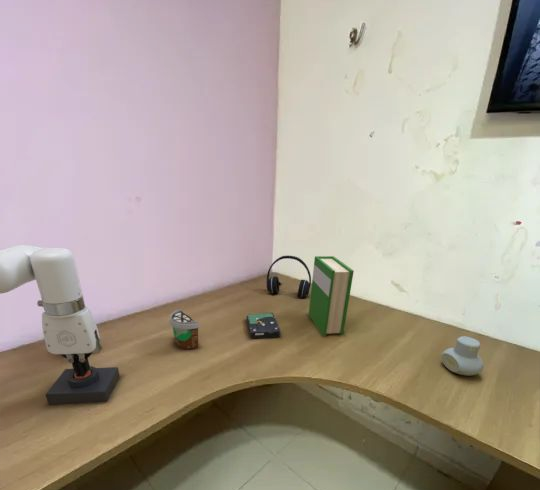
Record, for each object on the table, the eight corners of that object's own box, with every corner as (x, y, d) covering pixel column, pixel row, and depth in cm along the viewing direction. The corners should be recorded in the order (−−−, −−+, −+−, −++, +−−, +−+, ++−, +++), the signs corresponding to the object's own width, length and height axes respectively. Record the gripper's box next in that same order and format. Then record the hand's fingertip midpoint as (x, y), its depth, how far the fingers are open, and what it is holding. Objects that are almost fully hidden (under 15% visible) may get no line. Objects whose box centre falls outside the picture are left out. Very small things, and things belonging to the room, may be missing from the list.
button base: (48, 404, 73) (43, 388, 71) (68, 378, 82) (63, 363, 80) (107, 402, 75) (103, 385, 73) (119, 376, 84) (116, 361, 82)
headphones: (264, 294, 142) (266, 255, 134) (268, 289, 148) (270, 252, 140) (308, 300, 138) (312, 260, 130) (310, 295, 144) (314, 256, 136)
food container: (165, 339, 102) (162, 312, 98) (182, 334, 106) (180, 307, 102) (182, 356, 94) (179, 327, 90) (200, 349, 98) (198, 321, 93)
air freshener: (484, 379, 90) (497, 349, 86) (460, 381, 88) (471, 352, 84) (457, 358, 99) (466, 331, 95) (434, 360, 98) (443, 332, 94)
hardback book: (343, 335, 110) (353, 270, 100) (323, 336, 109) (332, 270, 99) (326, 314, 126) (333, 256, 116) (308, 314, 124) (314, 256, 114)
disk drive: (280, 338, 107) (272, 318, 120) (281, 330, 106) (272, 311, 119) (250, 339, 105) (246, 319, 118) (251, 332, 104) (246, 313, 117)
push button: (72, 383, 75) (71, 377, 74) (79, 374, 78) (77, 369, 78) (88, 383, 76) (87, 377, 75) (94, 374, 79) (93, 368, 78)
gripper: (17, 313, 64) (42, 384, 72) (94, 311, 66) (110, 381, 74) (37, 299, 71) (57, 365, 79) (106, 298, 73) (119, 363, 81)
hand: (83, 372), depth 76 cm, fingers closed
